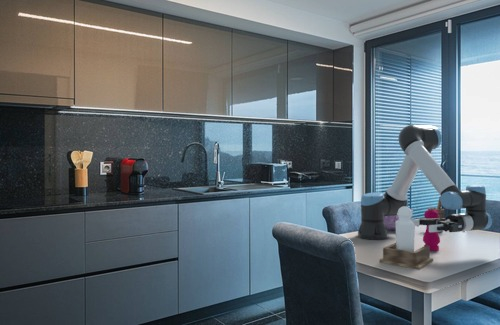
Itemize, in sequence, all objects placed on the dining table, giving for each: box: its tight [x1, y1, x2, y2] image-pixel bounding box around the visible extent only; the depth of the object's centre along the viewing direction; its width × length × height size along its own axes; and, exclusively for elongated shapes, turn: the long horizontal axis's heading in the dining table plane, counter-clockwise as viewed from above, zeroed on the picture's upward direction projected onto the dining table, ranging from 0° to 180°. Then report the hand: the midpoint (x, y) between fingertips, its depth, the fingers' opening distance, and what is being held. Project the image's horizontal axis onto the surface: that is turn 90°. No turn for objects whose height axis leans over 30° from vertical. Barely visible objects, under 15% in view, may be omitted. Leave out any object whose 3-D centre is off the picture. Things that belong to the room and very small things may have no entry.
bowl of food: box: [384, 208, 414, 231], centre depth 233 cm, size 20×20×12 cm
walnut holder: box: [379, 242, 434, 270], centre depth 162 cm, size 16×16×6 cm
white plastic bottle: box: [395, 206, 416, 252], centre depth 161 cm, size 6×6×22 cm
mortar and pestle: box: [427, 195, 445, 233], centre depth 225 cm, size 12×9×20 cm
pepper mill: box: [422, 206, 441, 252], centre depth 182 cm, size 7×7×20 cm
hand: (417, 225), depth 163 cm, fingers open, 13 cm apart
